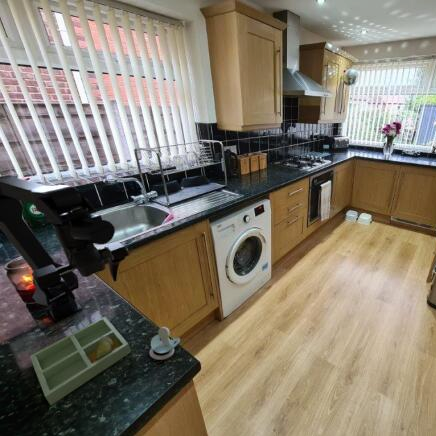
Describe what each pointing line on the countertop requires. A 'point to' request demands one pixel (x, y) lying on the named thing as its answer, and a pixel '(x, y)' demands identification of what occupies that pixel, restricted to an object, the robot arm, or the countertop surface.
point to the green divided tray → (76, 359)
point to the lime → (104, 347)
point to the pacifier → (163, 344)
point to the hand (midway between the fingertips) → (95, 289)
